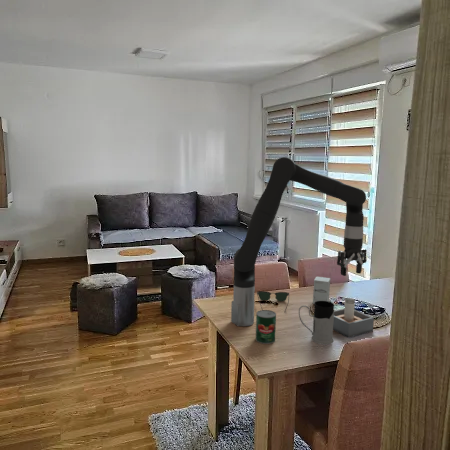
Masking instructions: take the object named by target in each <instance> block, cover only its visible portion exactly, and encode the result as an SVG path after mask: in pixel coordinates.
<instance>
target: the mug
mask: <svg viewBox="0 0 450 450" xmlns="http://www.w3.org/2000/svg"><path fill="white" fill-rule="evenodd" d="M313 306H314V307H313V308H314V309H313V310H314V311H313V315H312V314H311V310H310V307H309V306H307V305H301V306H300V307H299V309H298V318H299V320H300V323H301V324H302V325H303V326H304V327H305V328H306V329H307V330H308V331H310V332H311V337H310V338H311V341H313V342H314V343H315V344H318V345H331V344H333V343H334V341H335V340H334V330H333V322H334V310H335V305H334V303H333V302H331V301H329V302H328V301H316V302H315V304H313ZM305 307H306V308H307V309H308V315H309V316H310V317H311V318H313V321H312V330H311V328H309V327H308V325H306V324H305V323H304V322H303V320H302V318H301V315H300V311H301V308H305Z"/></svg>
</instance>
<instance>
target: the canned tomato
mask: <svg viewBox="0 0 450 450" xmlns="http://www.w3.org/2000/svg"><path fill="white" fill-rule="evenodd" d="M255 320H256V321H255V342H257V343H259V344H264V345H268V344H274V343H275V341H276V333H277V332H276V329H277V327H276V325H277V313H276V312H275V311H274V310H270V309H263V310H262V309H261V310H258V311H257V312H256V315H255Z"/></svg>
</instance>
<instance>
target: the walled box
mask: <svg viewBox="0 0 450 450" xmlns="http://www.w3.org/2000/svg"><path fill="white" fill-rule="evenodd" d="M374 319H375V317H374V316H370V315H368V314H366V313H364V312H361V311H359V310H356V309H354V321H351V322H348V321H346V320H344V308H340V309H336V310H335V309H334V322H333V332H334V331H335V332H336V333H338V334H340V335H342V336H344V337H346V338H348V339H349V338H353V337H357V336H360V335H361V336H362V335H364V334H368V333H372V332H374Z"/></svg>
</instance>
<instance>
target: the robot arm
mask: <svg viewBox="0 0 450 450" xmlns="http://www.w3.org/2000/svg"><path fill="white" fill-rule="evenodd" d="M271 169H272V170H271V172H270V176H269V179H268V182H267V185H266V187H265V189H264V190H263V192H262V194H261V196H260V197H259V199H258V202H257V203H256V205H255V208H254V209H253V212H252V215H251V218H250V221H249V223H248V227H247V230H246V231H247V232H246V236H245V237H244V240H243V242H242V244H241V247H240V248H239V249H237V250H236V251H235V253H234V255H233V298H232V299H233V300H232V301H231V308H230V309H231V312H230V314H231V315H230V318H231V319H230V321H231V323H233V324H234V325H236V326H237V327H249V326H253V324H254V323H255V293H256V292H255V290H256V289H255V286H256V285H255V284H256V283H255V282H256V278H255V277H256V275H255V274H256V263H257V259H258V255H259V252H260V250H261V248H262V245H263V243H264V241H265V239H266V237H267V235H268V233H269V231H270V229H271V227H272V225H273V223H274V221H275V218H276V216H277V214H278V212H279V208H280V205H281V201H282V197H283V194H284V192H285V191H286V189H287V186H288V184H289V183H290V181H292V182H296V183H299V184H302V185H305V186H306V187H309V188H311V189H313V190H314V191H318V192H320V193H322V194H324V195H327V196H329V197H332V198H335V199H338V200H340V201H343V202H344V203H345V208H346V209H345V210H346V213H345V214H346V215H345V225H344V231H343V232H344V233H343V248H344V251H341V250H338V252H337V260H336V261H337V262H336V265H337V266H340V275H341V276H343V277H345V276H347V266H348V265H349V264H350V263H351V262H353V261H355V262H356V266H355V273H356V274H359V275H360V274H362V271H363V269H362V268H363V265H364V264H366V263H367V252H368V251H367V249H365V248H363V246H364V245H363V243H364V242H363V241H364V217H365V216H364V211H363V207H364V204H365V203H366V200H367V194H366V192H365V191H364V190H363V189H361V188H358V187H355V186H352V185H349V184H347V183H344V182H342V181H340V180H338V179H335V178H332V177H330V176H327V175H324V174H321V173H318V172H315V171H311V170H308V169H306V168H304V167H302V166H300V165H298V164H296V163H295V162H294V161H293V159H291V158H289V157H288V156H283V157H279V158H277V159H275V161H274V163H273V165H272V168H271Z"/></svg>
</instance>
